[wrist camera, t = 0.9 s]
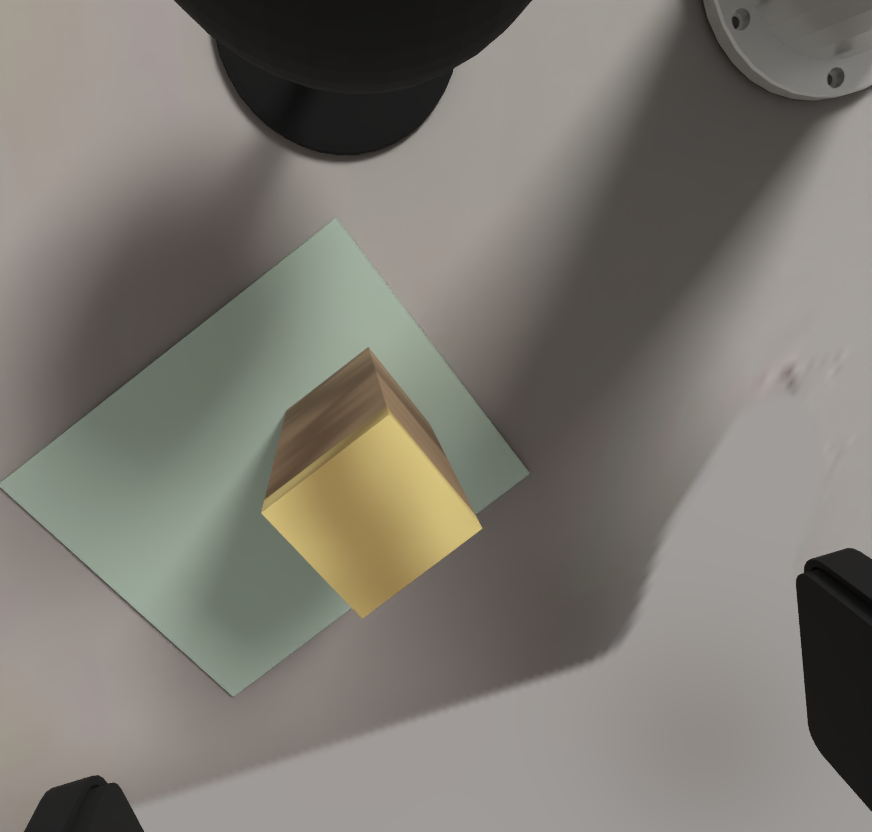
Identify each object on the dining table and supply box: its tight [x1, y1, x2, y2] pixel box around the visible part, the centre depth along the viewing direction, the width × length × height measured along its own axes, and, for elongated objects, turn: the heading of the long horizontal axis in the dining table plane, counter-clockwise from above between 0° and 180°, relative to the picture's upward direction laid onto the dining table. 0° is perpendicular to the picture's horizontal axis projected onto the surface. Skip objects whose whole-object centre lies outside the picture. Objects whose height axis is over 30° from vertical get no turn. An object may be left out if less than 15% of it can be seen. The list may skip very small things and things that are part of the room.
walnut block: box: [261, 347, 482, 619], centre depth 27 cm, size 5×5×12 cm
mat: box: [0, 218, 530, 697], centre depth 33 cm, size 20×16×1 cm
